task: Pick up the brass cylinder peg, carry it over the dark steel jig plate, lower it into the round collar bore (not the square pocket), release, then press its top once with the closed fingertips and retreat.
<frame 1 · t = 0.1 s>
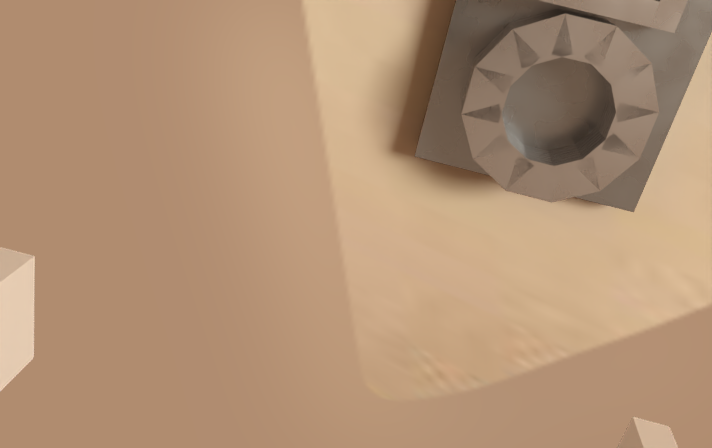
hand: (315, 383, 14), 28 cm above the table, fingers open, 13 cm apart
jig: (571, 23, 37), on the table
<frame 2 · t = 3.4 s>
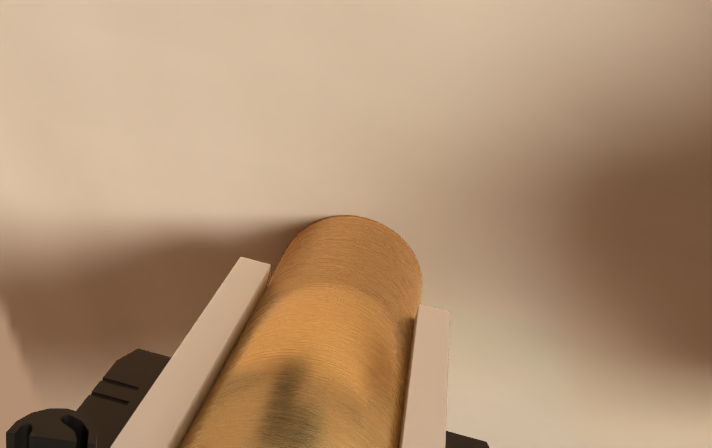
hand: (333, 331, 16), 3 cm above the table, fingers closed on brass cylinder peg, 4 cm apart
brass cylinder peg: (350, 281, 19), on the table, touching gripper
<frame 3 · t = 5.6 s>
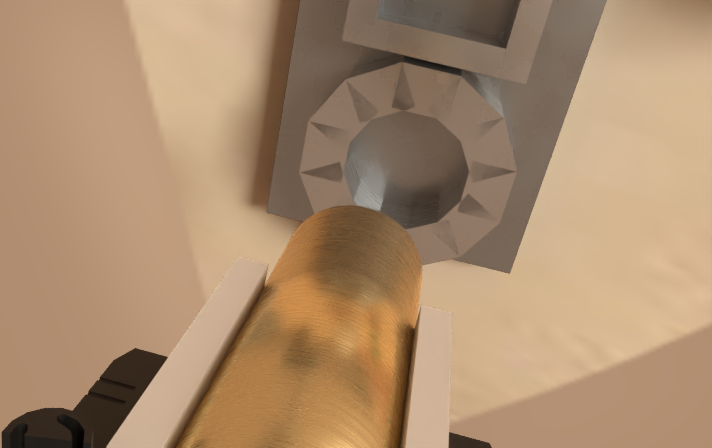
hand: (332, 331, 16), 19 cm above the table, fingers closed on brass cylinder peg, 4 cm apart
brass cylinder peg: (352, 269, 19), point 16 cm above the table, touching gripper
jig: (431, 64, 33), on the table
when the fingers open (6 cm above the table, at t = 7.7 s): brass cylinder peg drops 1 cm, resting on jig.
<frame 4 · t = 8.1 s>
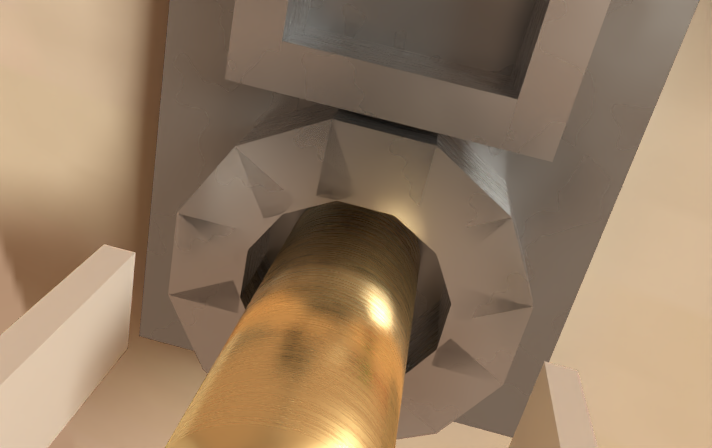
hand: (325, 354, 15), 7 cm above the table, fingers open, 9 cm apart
brass cylinder peg: (353, 256, 20), point 2 cm above the table, touching jig
jig: (394, 114, 20), on the table
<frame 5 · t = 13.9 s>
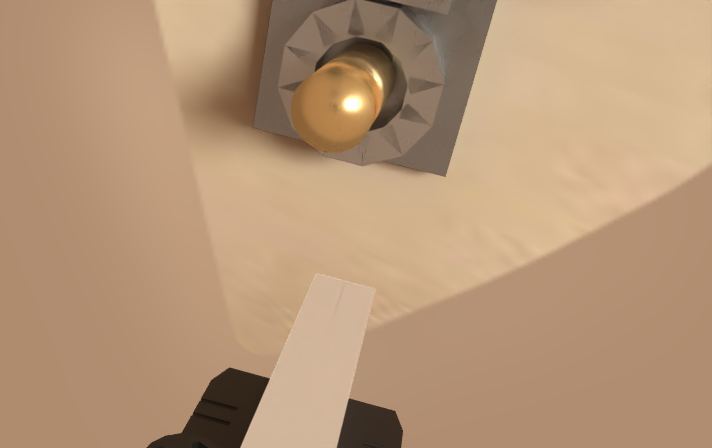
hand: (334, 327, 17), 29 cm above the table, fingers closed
brass cylinder peg: (363, 77, 41), point 2 cm above the table, touching jig
jig: (383, 8, 42), on the table
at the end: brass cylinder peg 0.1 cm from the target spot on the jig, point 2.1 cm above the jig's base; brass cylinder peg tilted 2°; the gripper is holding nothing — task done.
